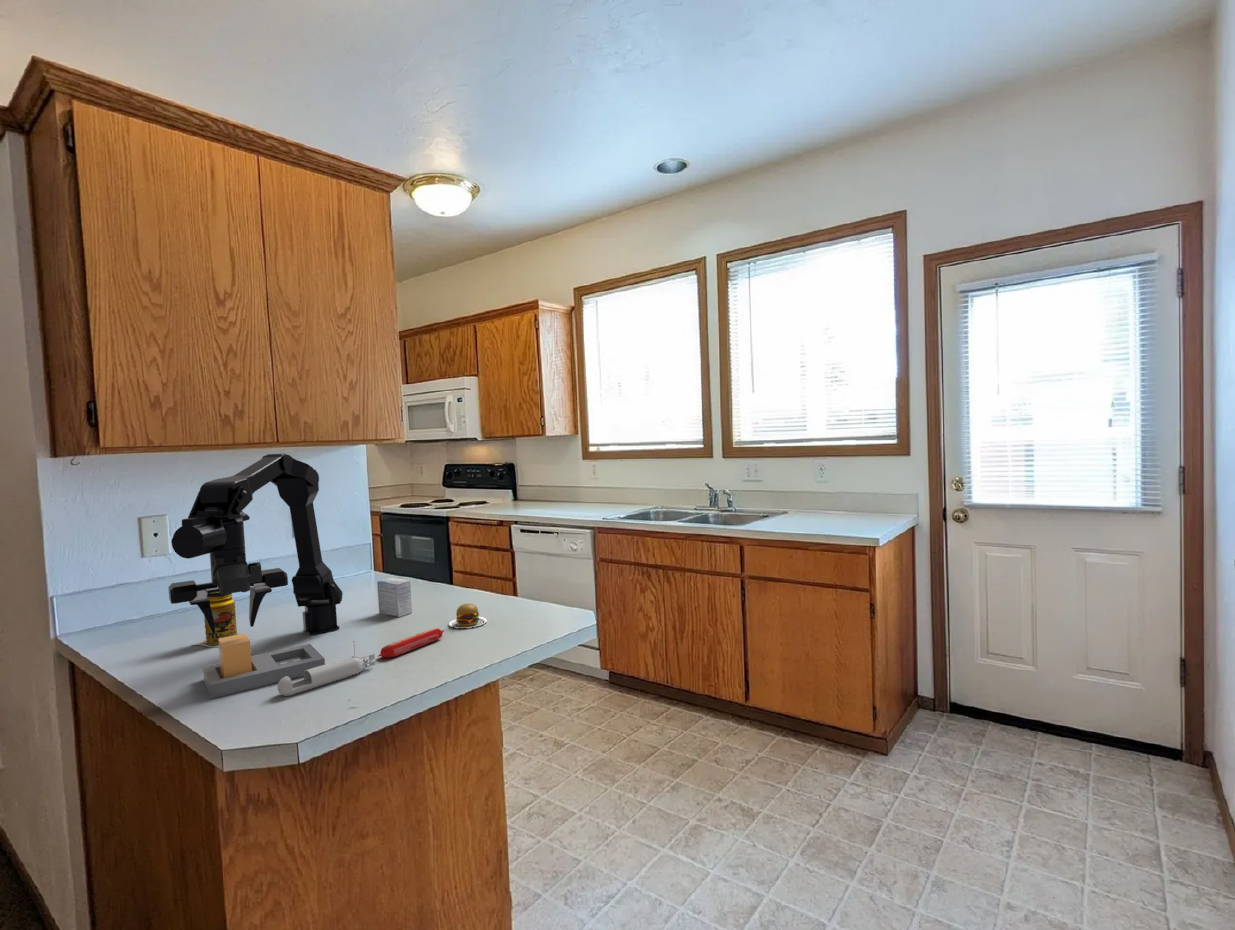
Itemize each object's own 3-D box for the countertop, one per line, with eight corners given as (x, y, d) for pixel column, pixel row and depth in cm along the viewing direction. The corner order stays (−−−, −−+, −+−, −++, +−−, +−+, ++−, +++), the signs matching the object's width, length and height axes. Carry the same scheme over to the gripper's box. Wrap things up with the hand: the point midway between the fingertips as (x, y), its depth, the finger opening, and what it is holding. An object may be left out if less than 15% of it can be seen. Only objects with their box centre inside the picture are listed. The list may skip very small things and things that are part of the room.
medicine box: (412, 613, 164) (411, 579, 164) (398, 617, 161) (396, 583, 160) (392, 609, 169) (391, 577, 168) (378, 613, 165) (376, 580, 164)
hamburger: (474, 616, 162) (473, 594, 162) (503, 624, 154) (502, 602, 153) (432, 627, 153) (431, 605, 153) (460, 637, 145) (459, 613, 145)
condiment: (219, 647, 142) (215, 594, 141) (191, 645, 145) (187, 593, 144) (247, 637, 149) (244, 586, 148) (219, 635, 152) (216, 585, 151)
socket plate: (310, 655, 135) (309, 643, 135) (325, 670, 125) (324, 658, 125) (203, 679, 123) (202, 666, 123) (211, 698, 114) (210, 684, 113)
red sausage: (435, 637, 145) (434, 624, 145) (446, 639, 143) (445, 626, 143) (375, 660, 131) (374, 646, 131) (387, 663, 129) (386, 648, 129)
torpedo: (285, 702, 111) (282, 665, 111) (274, 695, 114) (271, 659, 114) (381, 670, 125) (379, 637, 125) (369, 665, 128) (367, 633, 128)
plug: (244, 664, 127) (242, 630, 127) (252, 677, 120) (249, 640, 120) (218, 670, 124) (216, 635, 124) (225, 683, 117) (222, 646, 117)
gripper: (169, 561, 108) (176, 652, 109) (291, 546, 119) (296, 628, 120) (165, 553, 116) (171, 637, 117) (279, 539, 128) (284, 616, 129)
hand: (233, 629), depth 121 cm, fingers open, 6 cm apart
